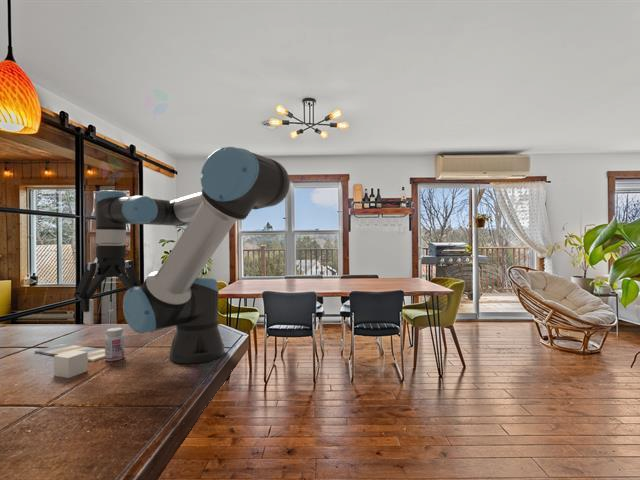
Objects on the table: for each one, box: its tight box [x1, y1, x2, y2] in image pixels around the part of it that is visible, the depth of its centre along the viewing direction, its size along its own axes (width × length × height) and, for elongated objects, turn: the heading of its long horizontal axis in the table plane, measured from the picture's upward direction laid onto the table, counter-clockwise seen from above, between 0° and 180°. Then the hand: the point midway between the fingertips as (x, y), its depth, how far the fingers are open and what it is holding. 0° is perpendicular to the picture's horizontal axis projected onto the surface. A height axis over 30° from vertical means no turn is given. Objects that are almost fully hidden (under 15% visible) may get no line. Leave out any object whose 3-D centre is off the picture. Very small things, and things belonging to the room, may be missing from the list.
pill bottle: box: [104, 327, 125, 362], centre depth 102 cm, size 5×5×8 cm
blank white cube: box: [53, 350, 89, 379], centre depth 90 cm, size 5×5×5 cm
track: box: [34, 343, 105, 362], centre depth 107 cm, size 24×8×1 cm, turn 71°
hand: (110, 318), depth 102 cm, fingers open, 13 cm apart
